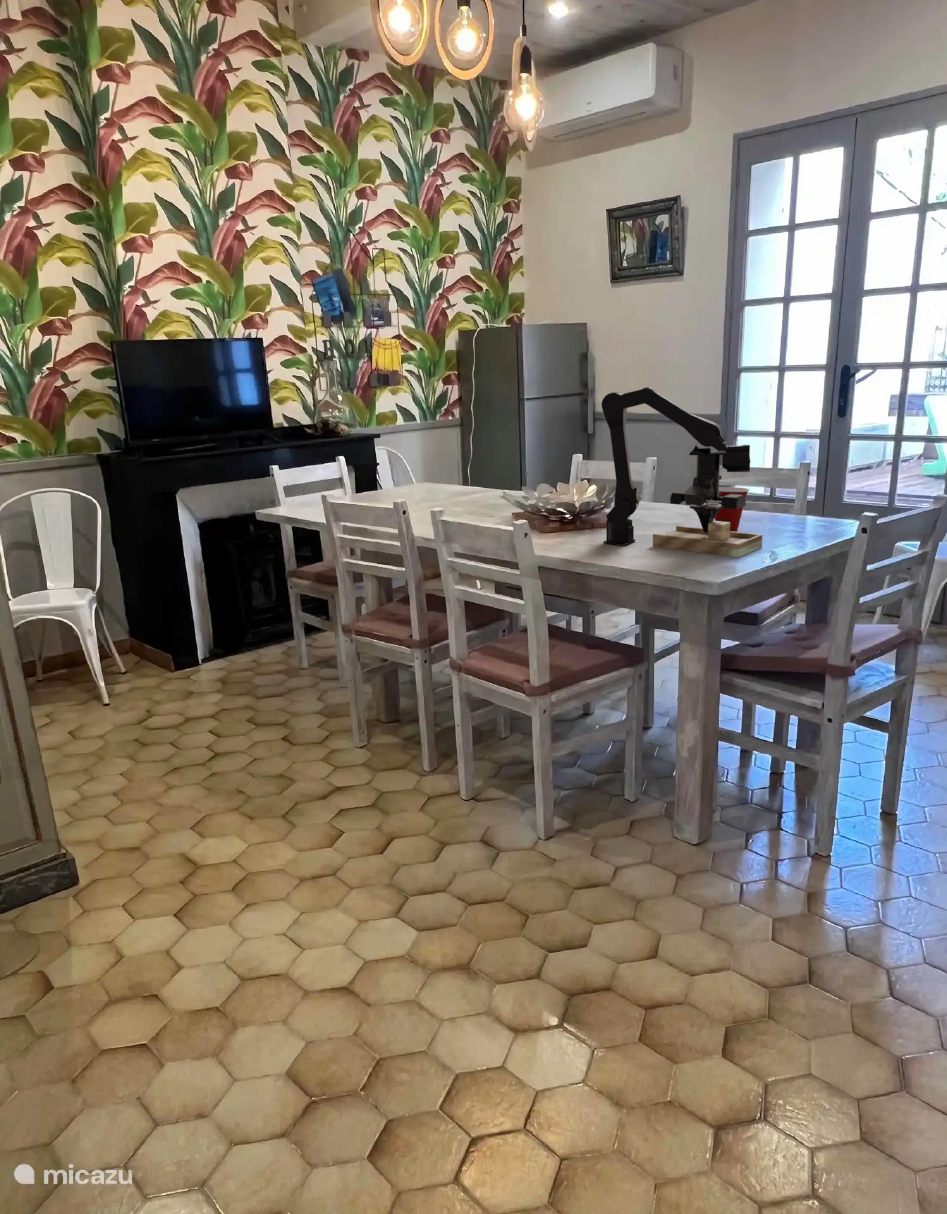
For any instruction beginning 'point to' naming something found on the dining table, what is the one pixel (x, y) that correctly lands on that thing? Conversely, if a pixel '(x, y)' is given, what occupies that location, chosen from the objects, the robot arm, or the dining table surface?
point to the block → (719, 530)
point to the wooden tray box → (708, 542)
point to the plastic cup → (731, 514)
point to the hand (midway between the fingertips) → (705, 532)
